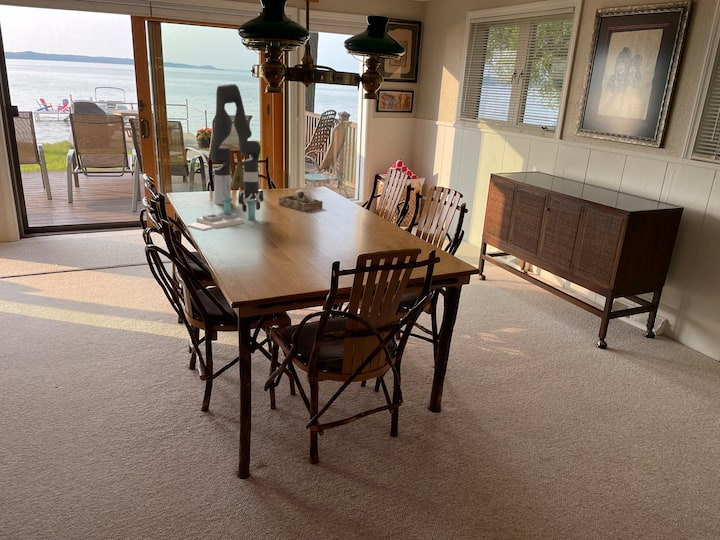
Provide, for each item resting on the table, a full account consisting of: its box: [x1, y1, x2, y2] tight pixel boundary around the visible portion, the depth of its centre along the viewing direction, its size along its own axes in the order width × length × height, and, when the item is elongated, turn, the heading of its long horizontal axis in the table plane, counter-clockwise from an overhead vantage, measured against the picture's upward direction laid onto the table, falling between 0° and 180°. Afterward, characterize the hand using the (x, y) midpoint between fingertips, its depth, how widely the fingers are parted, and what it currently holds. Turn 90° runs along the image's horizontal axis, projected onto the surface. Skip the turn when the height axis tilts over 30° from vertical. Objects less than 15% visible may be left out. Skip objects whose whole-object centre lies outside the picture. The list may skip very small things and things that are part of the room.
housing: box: [196, 211, 245, 229], centre depth 272 cm, size 17×17×4 cm
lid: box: [186, 221, 214, 231], centre depth 261 cm, size 12×6×1 cm, turn 56°
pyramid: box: [231, 160, 244, 189], centre depth 364 cm, size 13×13×18 cm
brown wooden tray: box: [278, 194, 323, 213], centre depth 316 cm, size 23×14×4 cm, turn 48°
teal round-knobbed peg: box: [246, 199, 256, 221], centre depth 280 cm, size 5×5×10 cm
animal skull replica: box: [292, 189, 315, 204], centre depth 314 cm, size 8×17×10 cm, turn 49°
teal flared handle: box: [222, 197, 233, 215], centre depth 273 cm, size 5×5×10 cm
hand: (251, 210), depth 280 cm, fingers open, 8 cm apart
